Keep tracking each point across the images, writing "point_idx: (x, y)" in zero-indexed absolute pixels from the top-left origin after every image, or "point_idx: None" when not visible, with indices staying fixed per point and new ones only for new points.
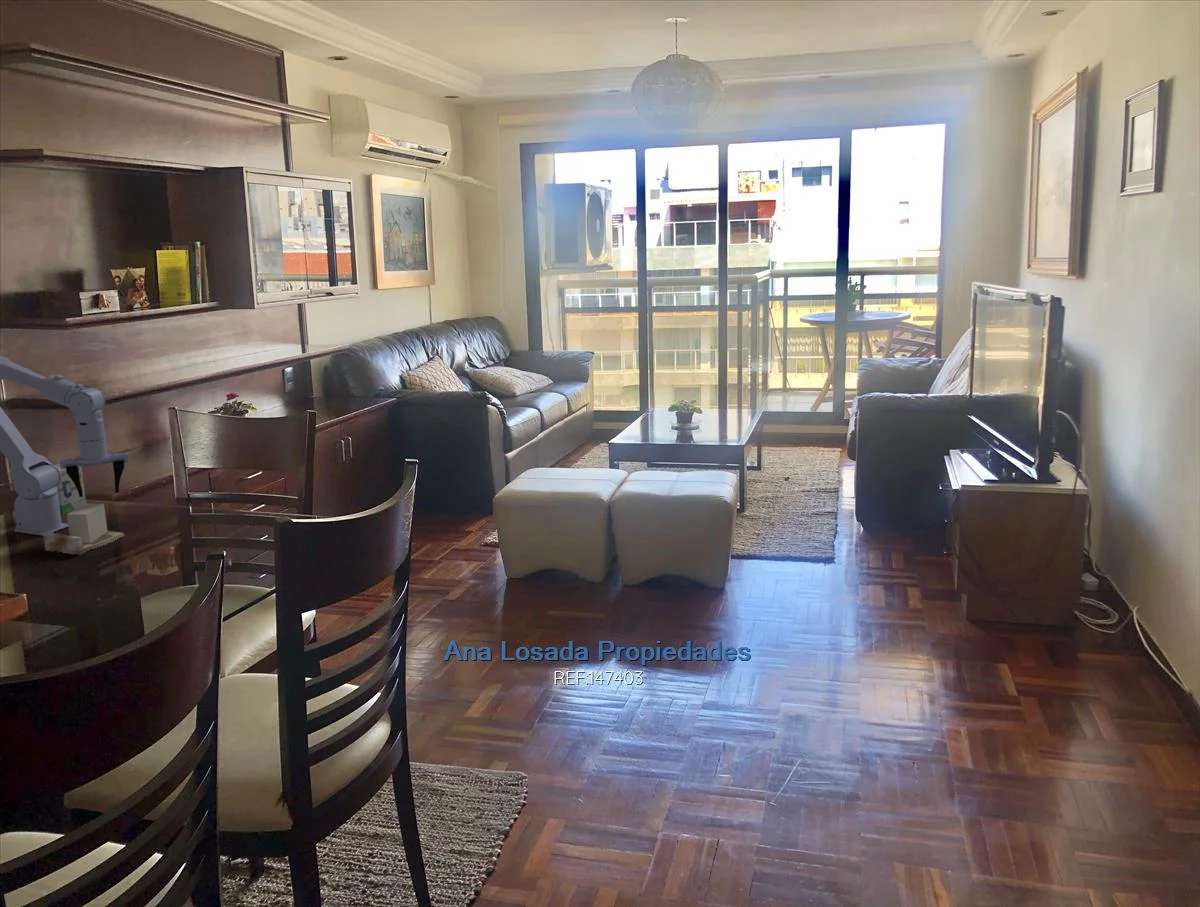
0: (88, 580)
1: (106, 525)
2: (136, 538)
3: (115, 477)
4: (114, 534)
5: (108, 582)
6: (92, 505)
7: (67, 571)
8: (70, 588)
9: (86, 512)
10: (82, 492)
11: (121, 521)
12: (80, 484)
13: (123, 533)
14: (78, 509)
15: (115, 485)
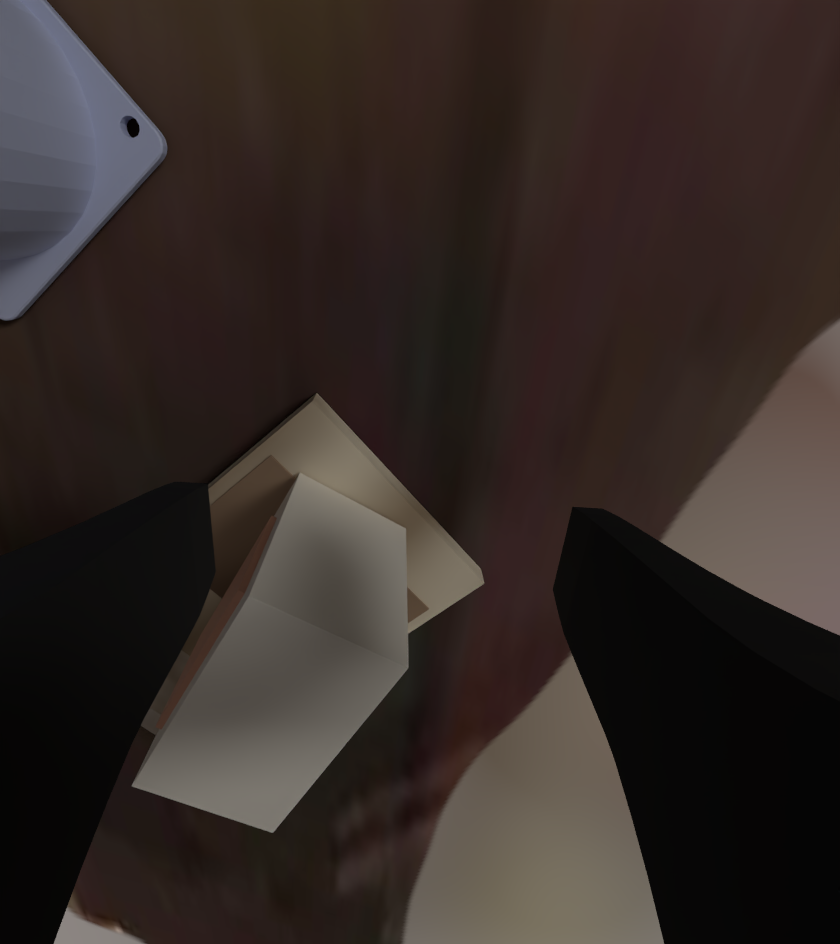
0: (300, 911)
1: (405, 553)
2: (529, 614)
3: (638, 802)
4: (435, 585)
5: (358, 938)
6: (316, 671)
7: (228, 833)
8: (249, 937)
9: (272, 801)
10: (198, 508)
11: (532, 228)
12: (138, 627)
13: (482, 584)
14: (207, 721)
15: (585, 678)
